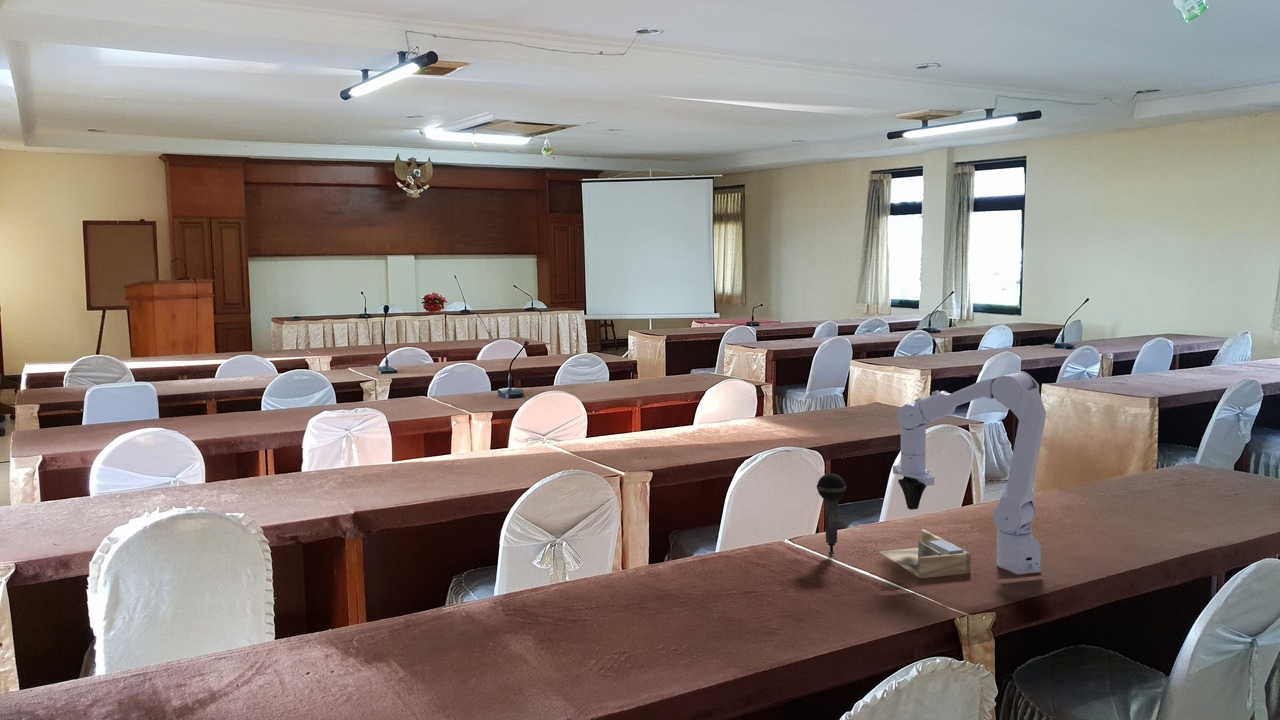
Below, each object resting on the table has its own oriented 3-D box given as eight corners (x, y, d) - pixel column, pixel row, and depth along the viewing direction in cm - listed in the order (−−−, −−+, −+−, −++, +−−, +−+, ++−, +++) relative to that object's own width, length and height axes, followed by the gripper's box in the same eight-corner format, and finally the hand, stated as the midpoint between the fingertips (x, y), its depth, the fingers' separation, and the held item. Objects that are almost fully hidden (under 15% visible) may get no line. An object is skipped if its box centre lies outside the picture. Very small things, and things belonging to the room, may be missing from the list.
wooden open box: (970, 576, 208) (970, 551, 207) (920, 581, 205) (920, 556, 205) (924, 550, 227) (924, 527, 227) (878, 554, 225) (878, 531, 224)
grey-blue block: (963, 571, 209) (963, 549, 208) (949, 573, 208) (949, 551, 207) (942, 561, 216) (942, 539, 216) (928, 562, 215) (928, 541, 215)
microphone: (813, 558, 223) (812, 475, 221) (821, 550, 229) (821, 469, 227) (841, 562, 220) (841, 477, 218) (849, 554, 226) (849, 471, 224)
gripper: (945, 457, 221) (945, 514, 222) (910, 446, 234) (910, 500, 236) (919, 459, 219) (919, 517, 220) (885, 448, 232) (885, 502, 234)
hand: (912, 508), depth 228 cm, fingers closed
